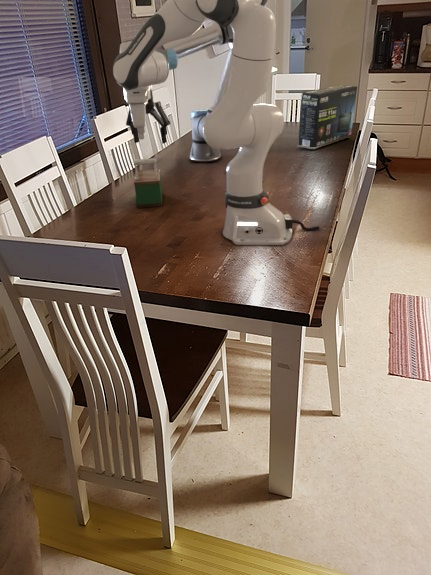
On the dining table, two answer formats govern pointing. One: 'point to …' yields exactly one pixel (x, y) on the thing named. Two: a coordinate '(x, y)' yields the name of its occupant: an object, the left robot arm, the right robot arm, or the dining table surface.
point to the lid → (146, 173)
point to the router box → (326, 115)
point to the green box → (149, 195)
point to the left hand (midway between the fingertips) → (150, 142)
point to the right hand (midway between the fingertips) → (142, 135)
